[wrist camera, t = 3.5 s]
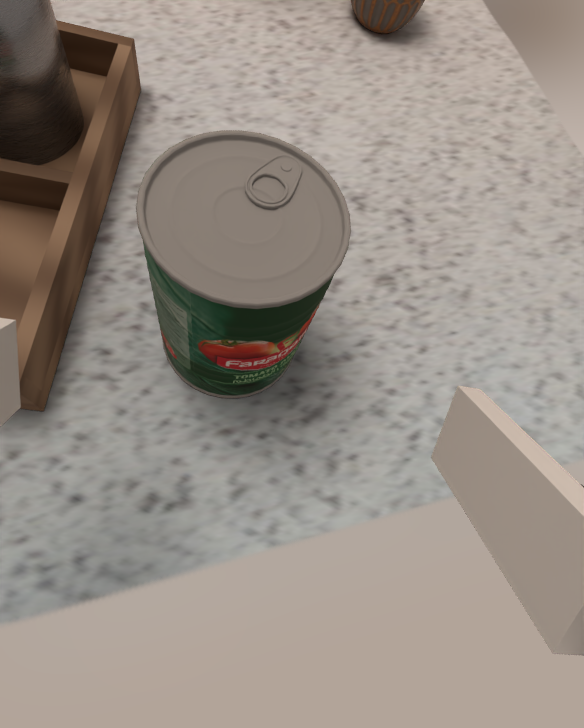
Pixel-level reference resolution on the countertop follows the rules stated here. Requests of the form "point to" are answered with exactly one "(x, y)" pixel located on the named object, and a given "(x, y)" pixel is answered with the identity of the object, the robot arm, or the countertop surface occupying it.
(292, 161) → the canned tomato
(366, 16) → the vase
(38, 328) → the wooden divided tray
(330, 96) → the countertop surface
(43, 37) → the seated cylinder
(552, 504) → the robot arm
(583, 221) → the countertop surface
